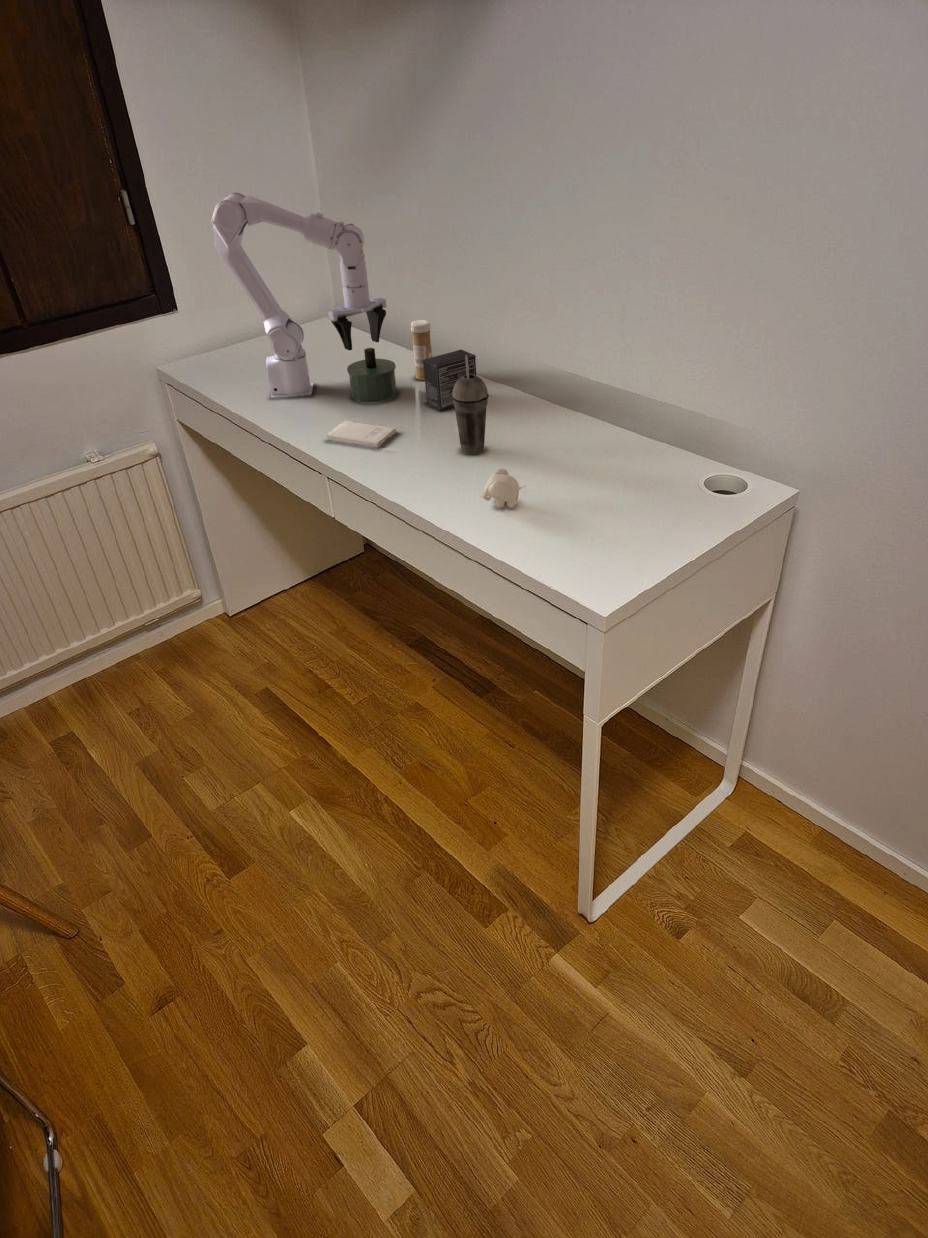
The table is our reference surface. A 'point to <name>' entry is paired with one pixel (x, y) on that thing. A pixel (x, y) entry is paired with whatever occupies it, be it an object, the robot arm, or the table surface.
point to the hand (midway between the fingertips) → (362, 345)
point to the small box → (445, 376)
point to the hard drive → (360, 434)
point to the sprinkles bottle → (421, 345)
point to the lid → (371, 366)
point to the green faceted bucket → (373, 387)
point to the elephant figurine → (502, 489)
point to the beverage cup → (470, 411)
